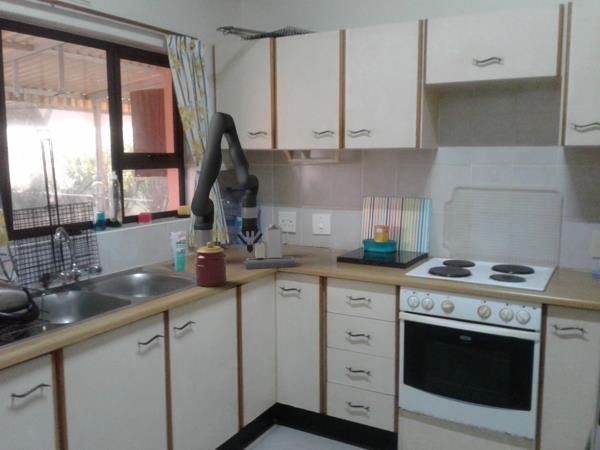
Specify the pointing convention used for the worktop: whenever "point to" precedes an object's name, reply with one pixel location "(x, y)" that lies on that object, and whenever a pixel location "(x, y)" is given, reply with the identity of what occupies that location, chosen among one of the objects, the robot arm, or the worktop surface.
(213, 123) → the robot arm
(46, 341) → the worktop surface
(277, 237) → the milk carton
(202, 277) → the canister
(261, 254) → the fader tab
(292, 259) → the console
